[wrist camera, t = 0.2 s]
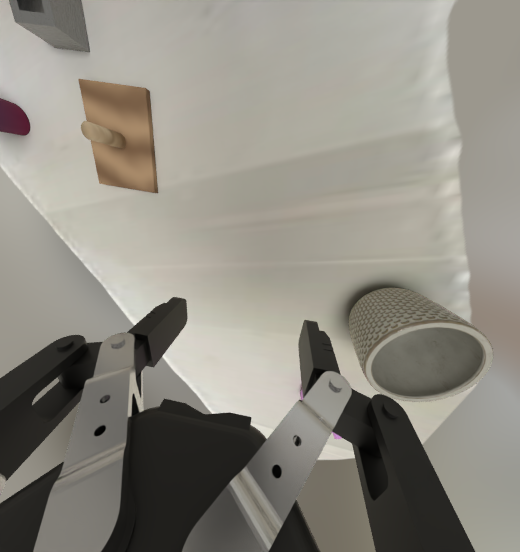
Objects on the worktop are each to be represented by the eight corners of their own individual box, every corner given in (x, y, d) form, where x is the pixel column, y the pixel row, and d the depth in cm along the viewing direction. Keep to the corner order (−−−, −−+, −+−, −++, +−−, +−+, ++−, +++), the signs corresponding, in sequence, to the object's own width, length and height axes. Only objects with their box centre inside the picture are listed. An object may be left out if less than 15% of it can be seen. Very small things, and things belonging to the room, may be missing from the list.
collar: (42, -11, 28) (-6, -51, 23) (79, -6, 28) (39, -46, 23) (55, 47, 30) (15, 21, 26) (90, 52, 30) (55, 26, 26)
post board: (84, 82, 32) (34, 54, 26) (149, 91, 31) (114, 64, 25) (103, 183, 39) (68, 181, 32) (157, 192, 38) (132, 192, 32)
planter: (396, 258, 37) (467, 299, 23) (433, 314, 41) (513, 379, 27) (323, 301, 43) (343, 355, 29) (361, 347, 47) (395, 414, 33)
